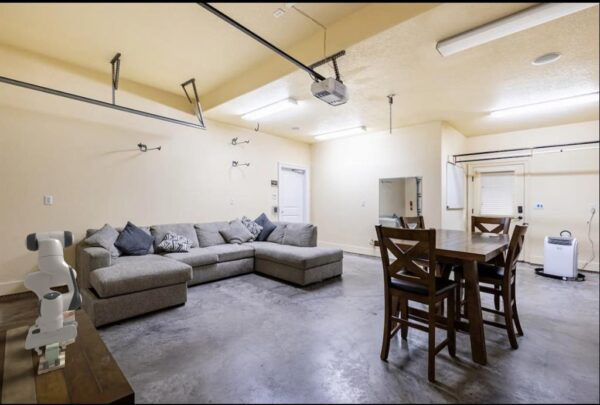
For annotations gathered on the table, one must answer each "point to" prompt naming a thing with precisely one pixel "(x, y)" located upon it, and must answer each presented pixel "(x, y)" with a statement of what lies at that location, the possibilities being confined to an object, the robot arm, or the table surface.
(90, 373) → the table surface
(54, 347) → the sage block
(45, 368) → the stub cradle
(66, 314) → the coffeecake box
